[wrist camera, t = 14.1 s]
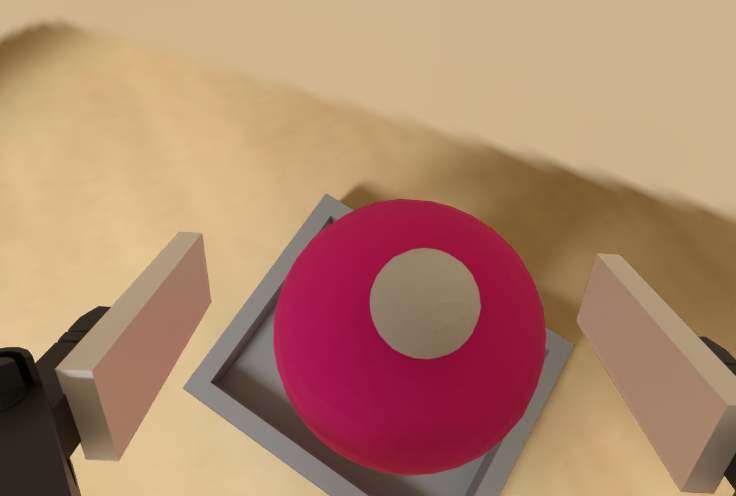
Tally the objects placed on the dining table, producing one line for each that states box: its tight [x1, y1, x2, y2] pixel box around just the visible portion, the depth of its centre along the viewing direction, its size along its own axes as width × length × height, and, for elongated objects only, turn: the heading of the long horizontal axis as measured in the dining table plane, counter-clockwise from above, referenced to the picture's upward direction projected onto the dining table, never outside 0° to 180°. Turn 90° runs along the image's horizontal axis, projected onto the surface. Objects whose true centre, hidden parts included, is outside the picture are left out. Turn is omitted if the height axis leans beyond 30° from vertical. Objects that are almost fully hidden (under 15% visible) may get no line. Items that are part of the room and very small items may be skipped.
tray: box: [183, 194, 575, 496], centre depth 26 cm, size 16×13×2 cm
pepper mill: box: [273, 199, 546, 476], centre depth 16 cm, size 7×7×20 cm
